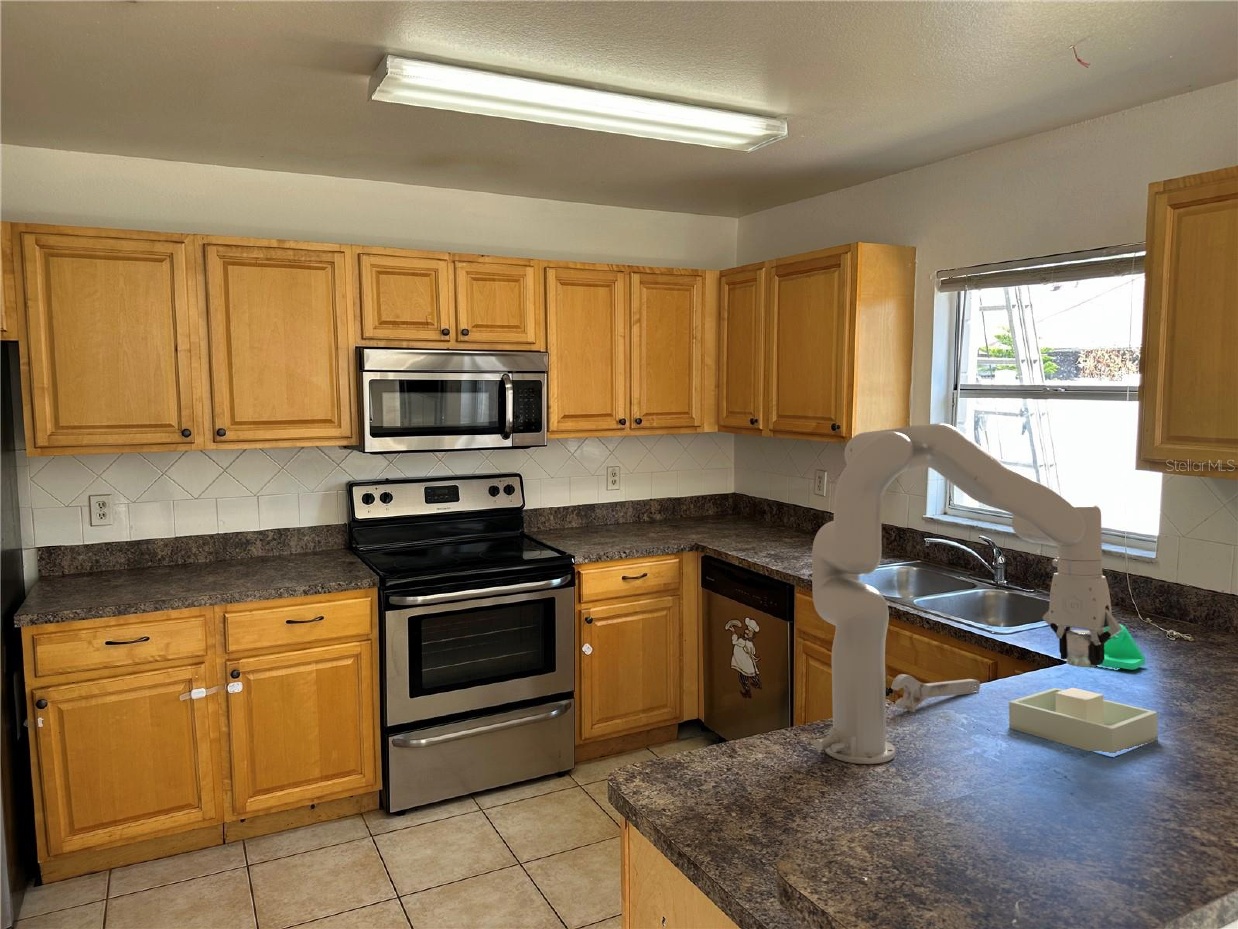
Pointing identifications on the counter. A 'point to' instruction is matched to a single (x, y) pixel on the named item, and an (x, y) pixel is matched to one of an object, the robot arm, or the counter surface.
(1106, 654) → the camera mount
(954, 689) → the wrench
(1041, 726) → the crate
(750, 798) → the counter surface
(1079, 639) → the tea tin
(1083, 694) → the flour box
